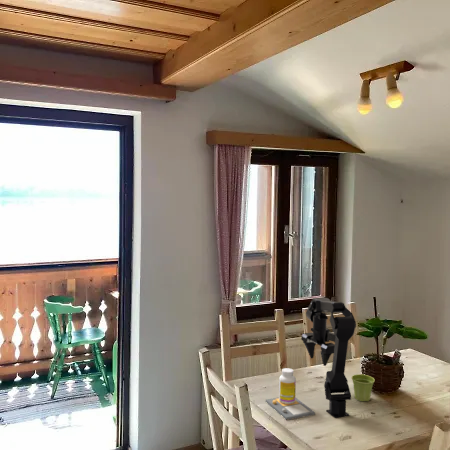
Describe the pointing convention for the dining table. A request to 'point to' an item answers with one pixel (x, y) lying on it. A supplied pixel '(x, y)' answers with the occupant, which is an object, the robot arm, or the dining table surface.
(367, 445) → the dining table surface
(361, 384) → the plant pot
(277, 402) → the board
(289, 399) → the supplement bottle
